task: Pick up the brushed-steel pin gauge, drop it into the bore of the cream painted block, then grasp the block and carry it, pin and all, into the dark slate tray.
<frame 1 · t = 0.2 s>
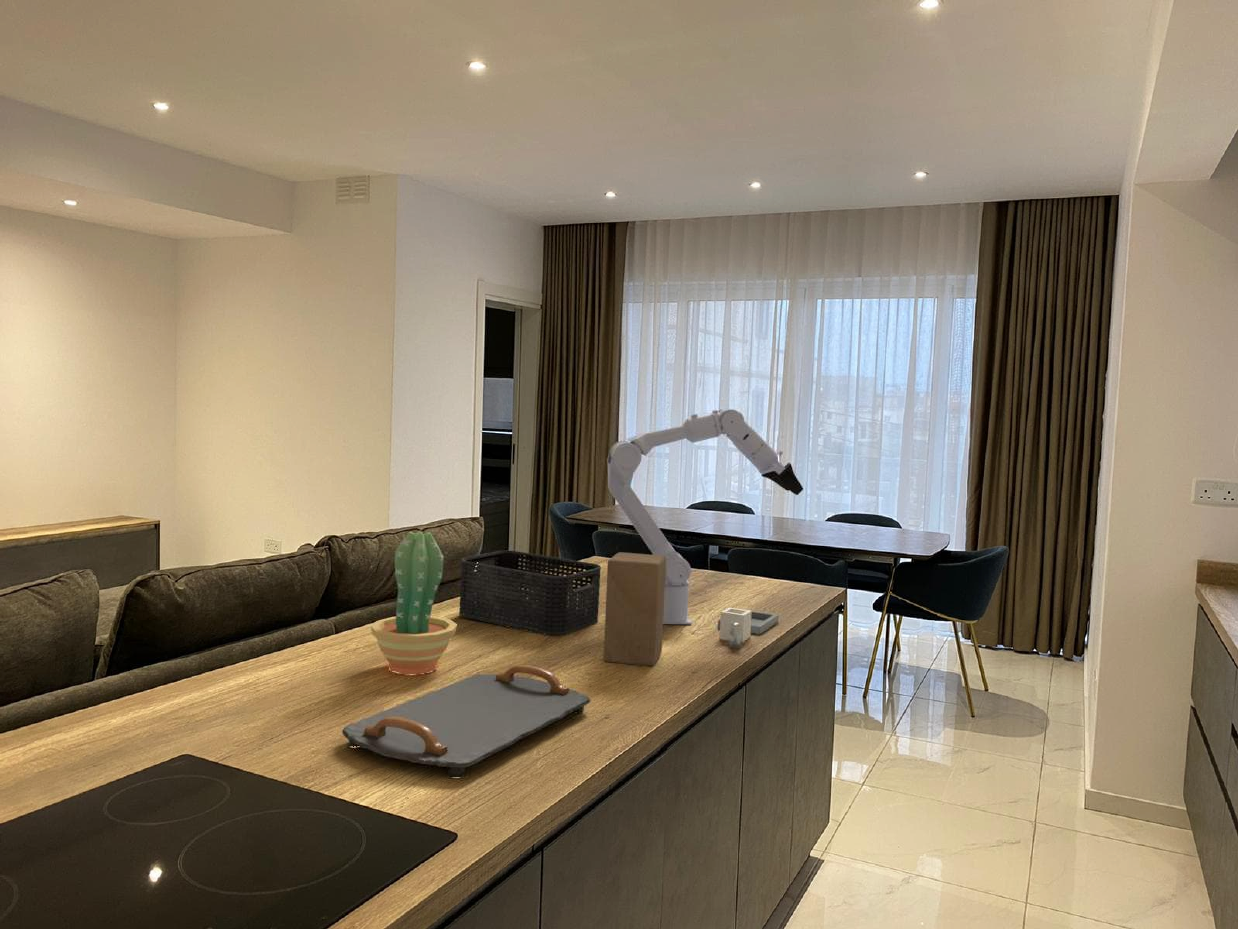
hand: (795, 490, 212), 32 cm above the kitchen island, tool tilted 50°, fingers open, 7 cm apart
serving board: (474, 732, 138), on the kitchen island
potted cactus: (413, 669, 166), on the kitchen island
cream block: (734, 638, 198), on the kitchen island
tray: (748, 625, 210), on the kitchen island
pin gauge: (734, 646, 191), on the kitchen island
storage bin: (528, 620, 207), on the kitchen island
wooden block: (633, 658, 179), on the kitchen island
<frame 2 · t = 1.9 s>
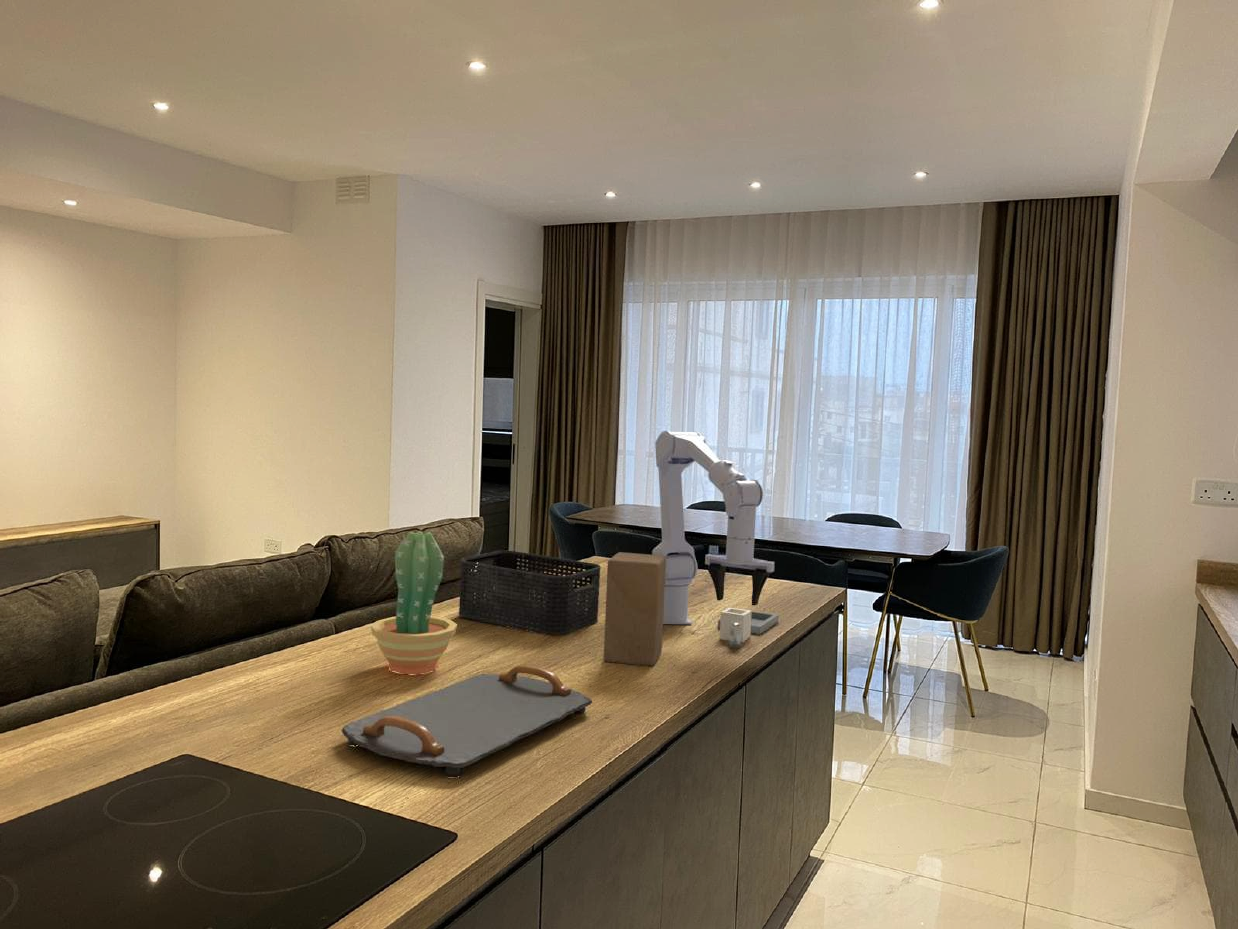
hand: (737, 602, 190), 10 cm above the kitchen island, tool pointing down, fingers open, 7 cm apart
nothing on the kitchen island moved.
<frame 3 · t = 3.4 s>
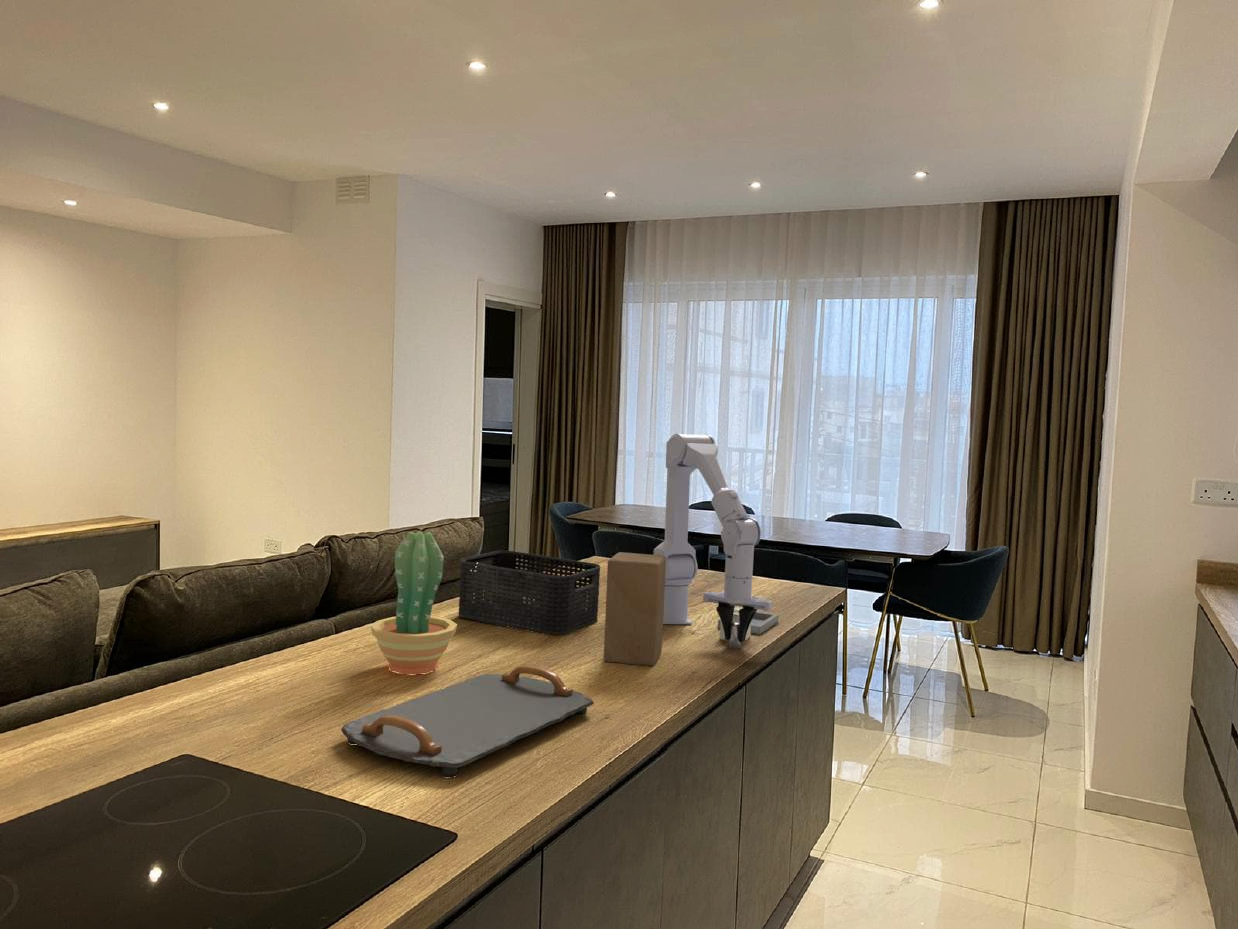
hand: (735, 640, 191), 1 cm above the kitchen island, tool pointing down, fingers closed on pin gauge, 2 cm apart
pin gauge: (734, 646, 191), on the kitchen island, touching gripper
everything else where it was.
when the fingers open (7 cm above the kitchen island, at t = 5.7 s): pin gauge drops 5 cm, resting on cream block.
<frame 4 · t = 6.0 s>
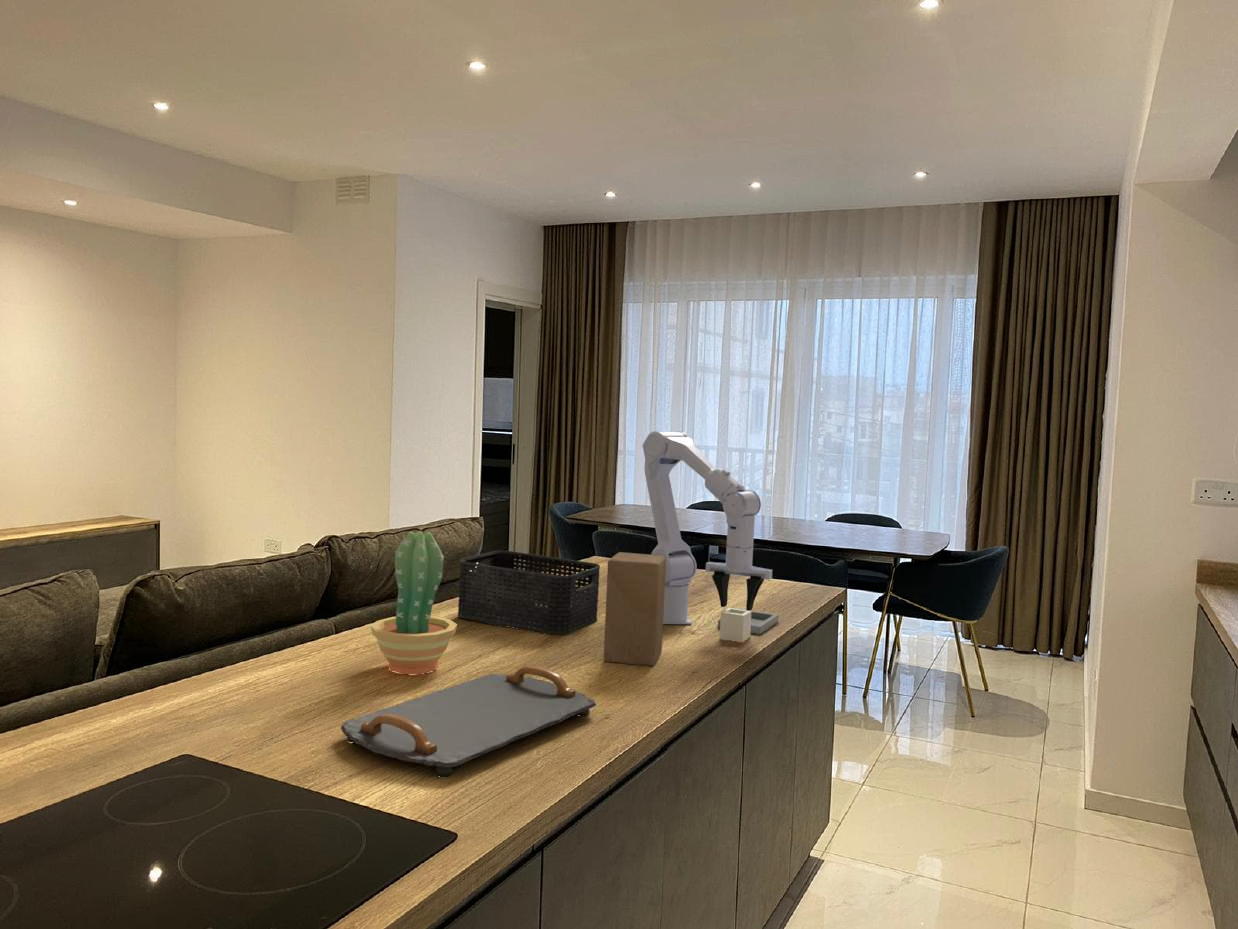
hand: (736, 608, 197), 7 cm above the kitchen island, tool pointing down, fingers open, 5 cm apart
cream block: (734, 638, 198), on the kitchen island, touching pin gauge
pin gauge: (735, 636, 198), resting on cream block
everything else where it was.
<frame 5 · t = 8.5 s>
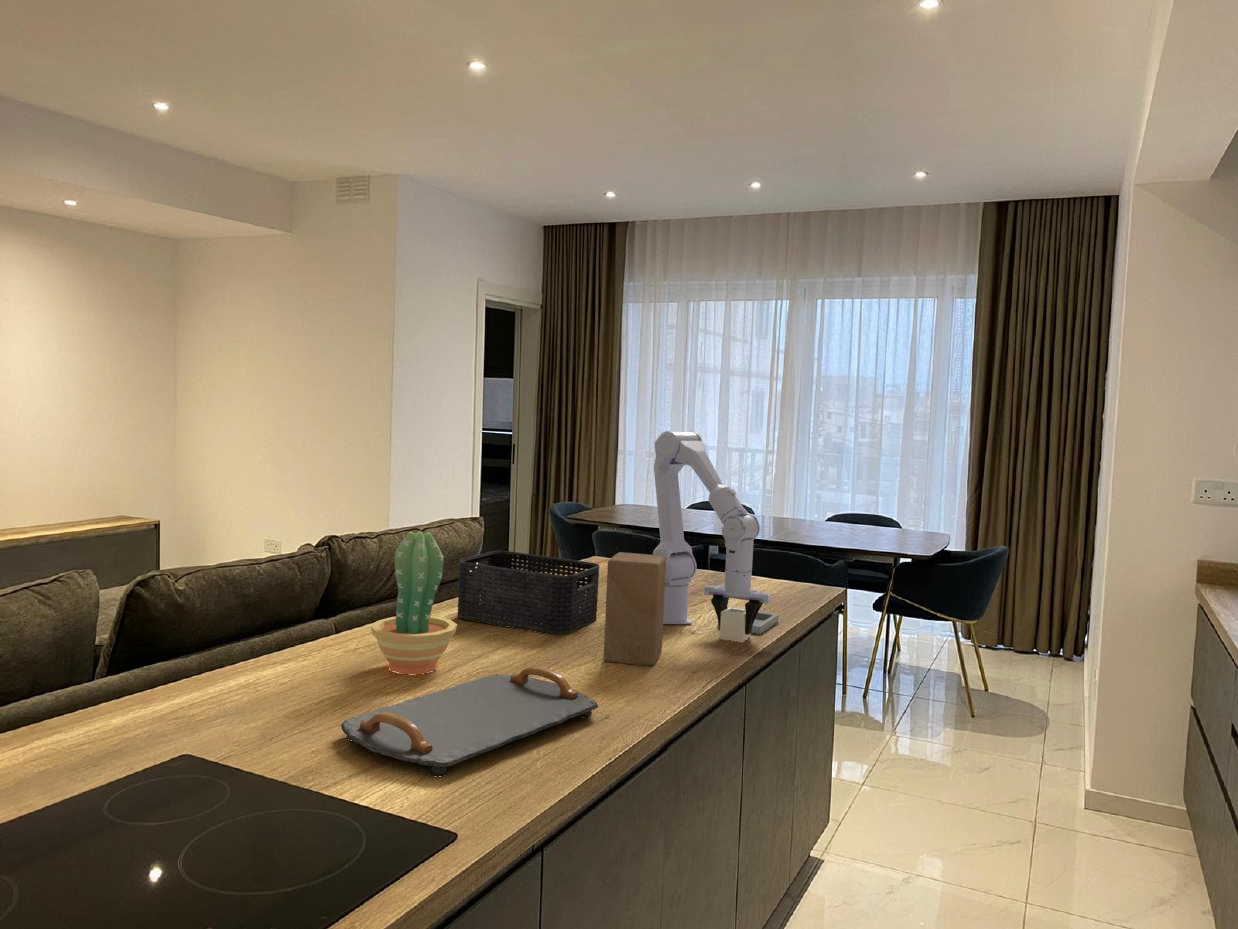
hand: (735, 631, 198), 1 cm above the kitchen island, tool pointing down, fingers closed on cream block, 5 cm apart
cream block: (734, 638, 198), on the kitchen island, touching gripper, pin gauge
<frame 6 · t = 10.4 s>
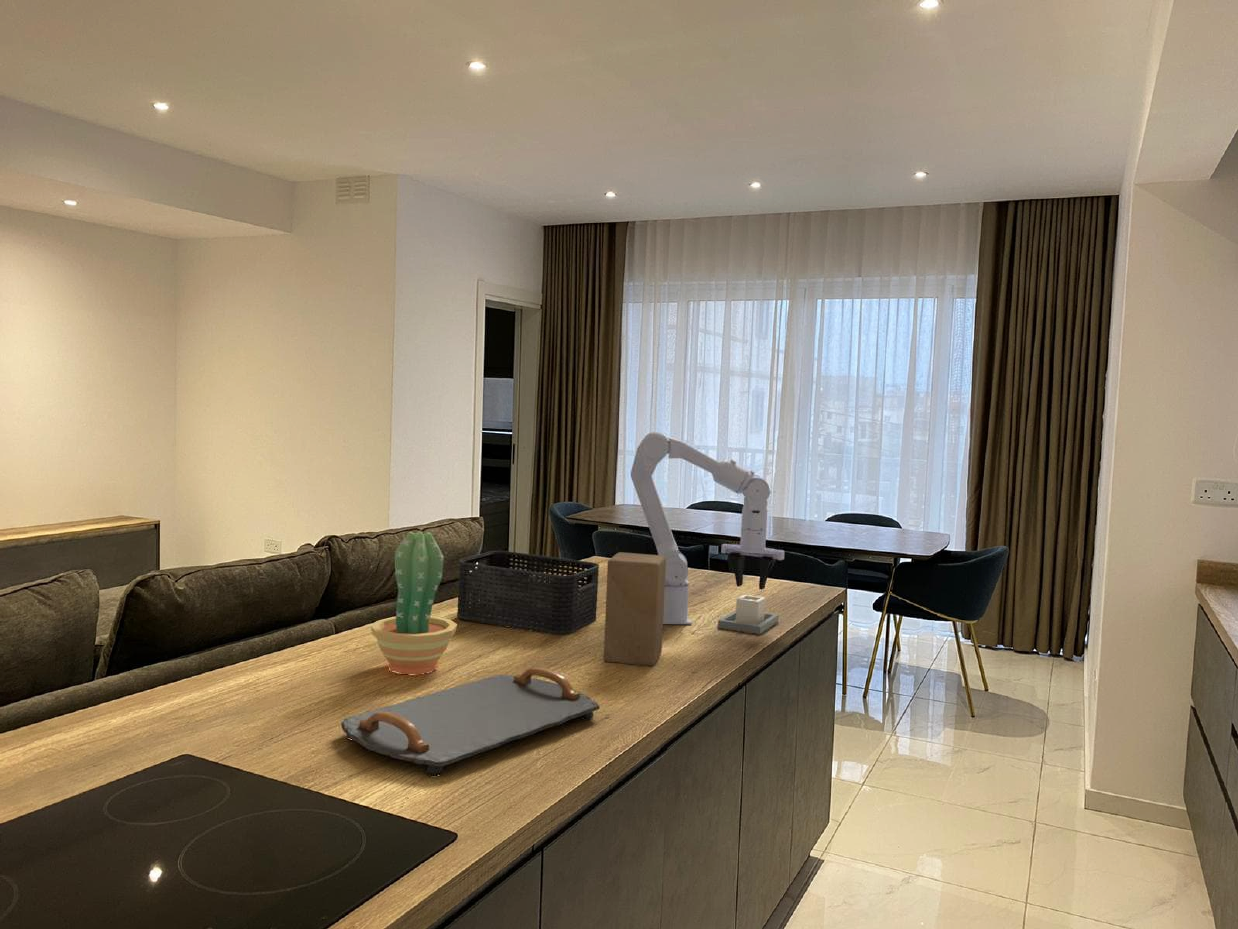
hand: (750, 587, 210), 9 cm above the kitchen island, tool pointing down, fingers open, 5 cm apart
cream block: (749, 623, 210), resting on pin gauge, tray
pin gauge: (749, 621, 210), point 1 cm above the kitchen island, tilted 7°, touching cream block
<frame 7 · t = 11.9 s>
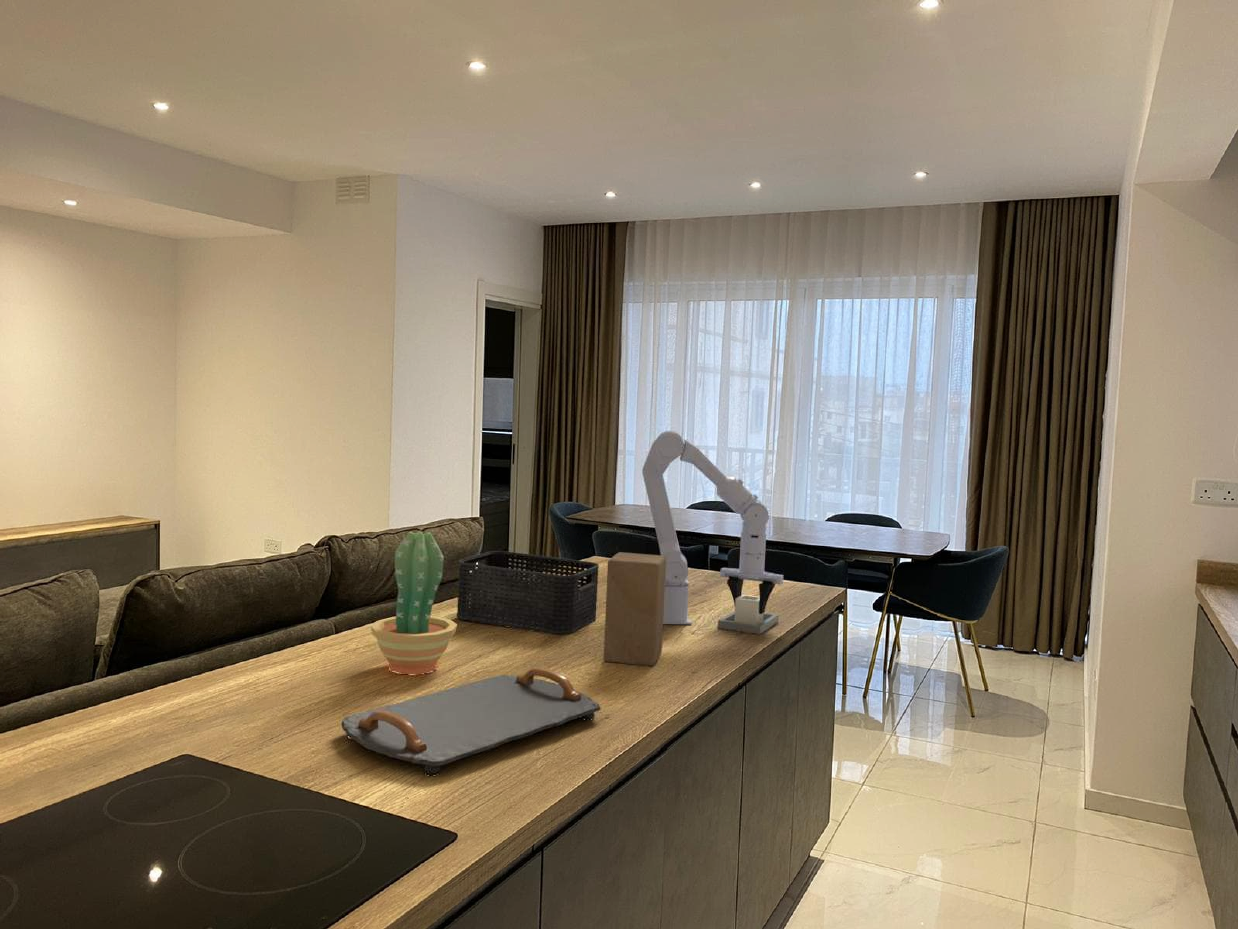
hand: (749, 611, 210), 3 cm above the kitchen island, tool pointing down, fingers closed on cream block, 5 cm apart
cream block: (748, 623, 210), resting on tray, touching gripper, pin gauge
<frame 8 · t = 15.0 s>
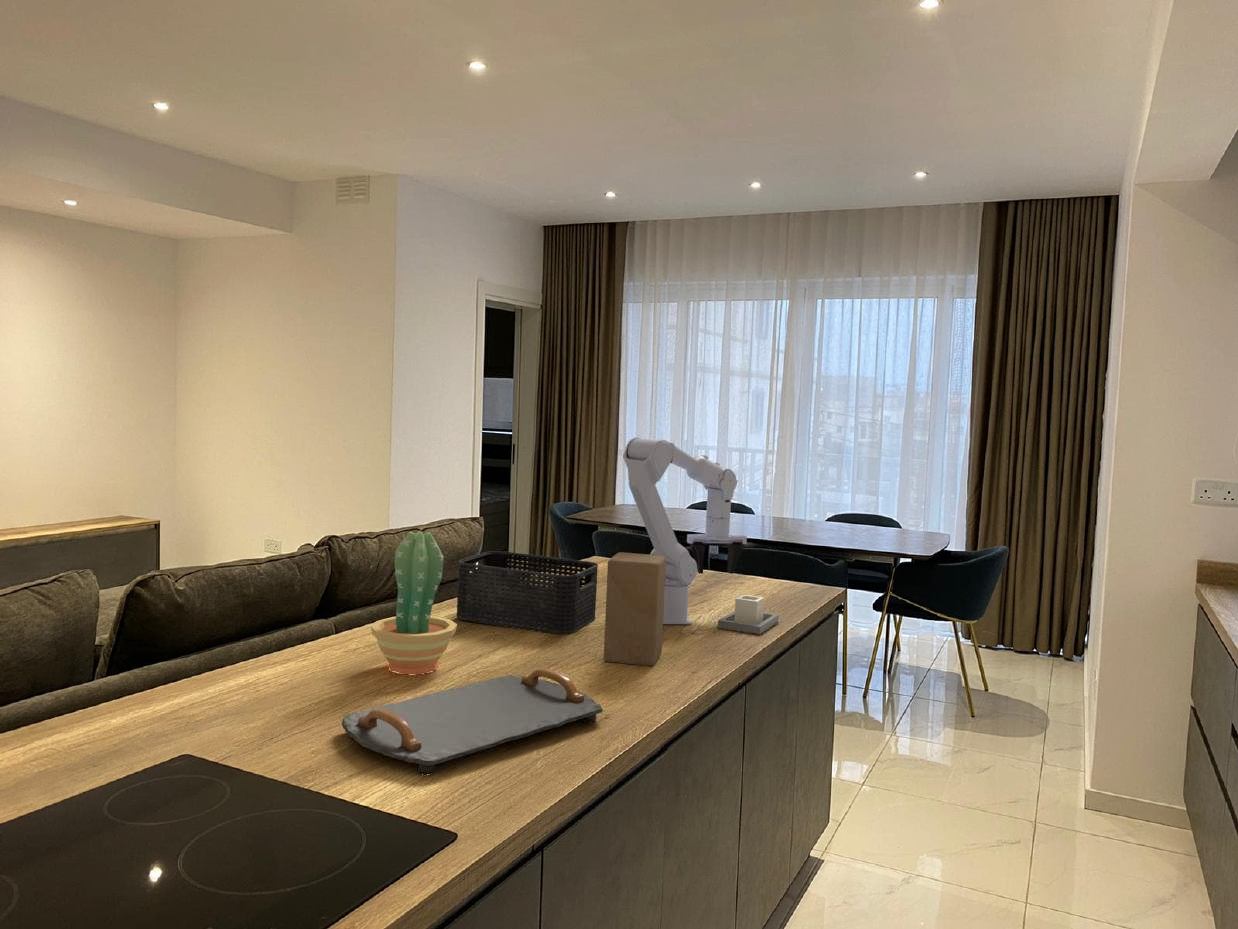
hand: (715, 572, 220), 10 cm above the kitchen island, tool pointing down, fingers open, 7 cm apart
cream block: (748, 623, 210), resting on pin gauge, tray
at the end: cream block 0.3 cm from the tray (horizontally); cream block resting on tray; pin gauge 0.2 cm from the cream block (horizontally) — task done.
